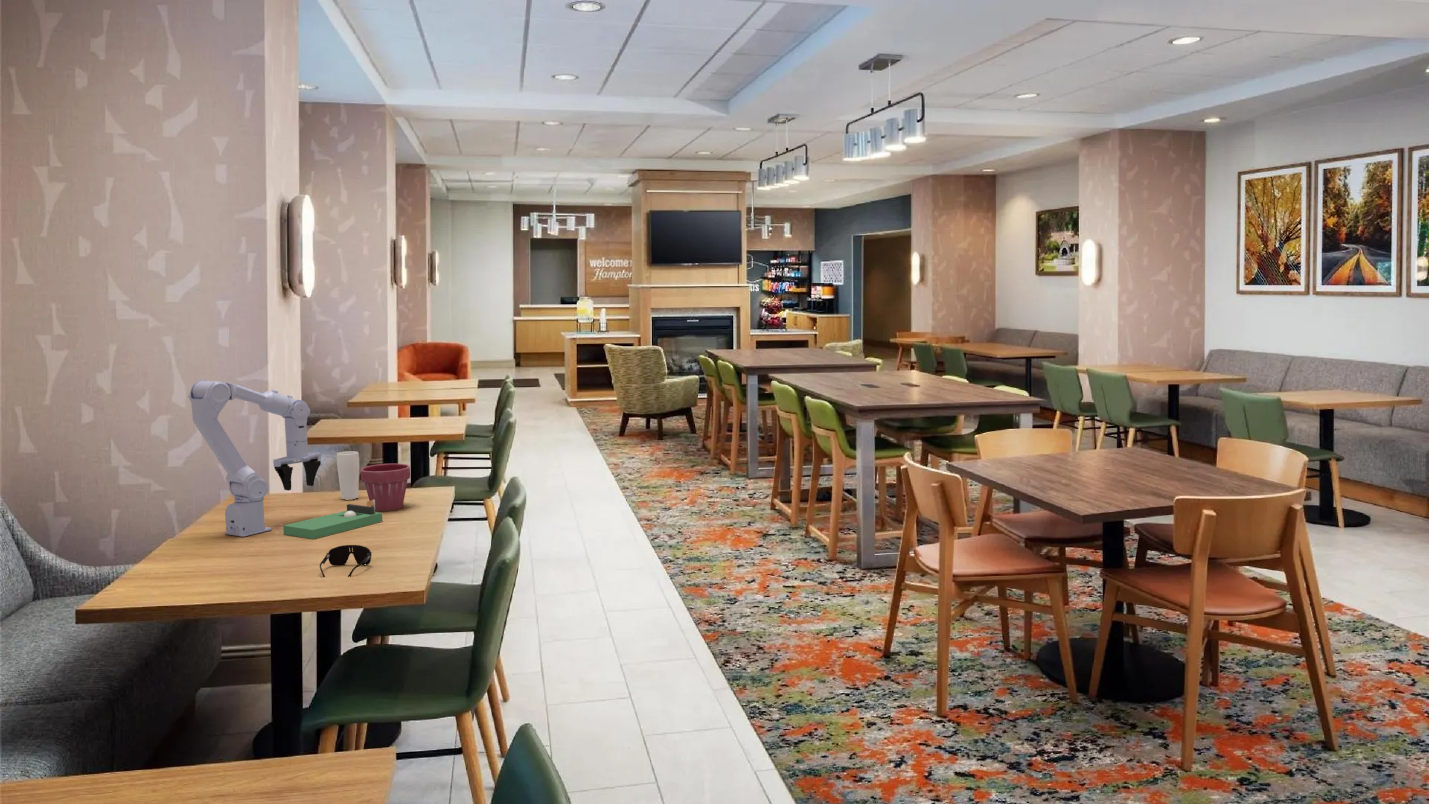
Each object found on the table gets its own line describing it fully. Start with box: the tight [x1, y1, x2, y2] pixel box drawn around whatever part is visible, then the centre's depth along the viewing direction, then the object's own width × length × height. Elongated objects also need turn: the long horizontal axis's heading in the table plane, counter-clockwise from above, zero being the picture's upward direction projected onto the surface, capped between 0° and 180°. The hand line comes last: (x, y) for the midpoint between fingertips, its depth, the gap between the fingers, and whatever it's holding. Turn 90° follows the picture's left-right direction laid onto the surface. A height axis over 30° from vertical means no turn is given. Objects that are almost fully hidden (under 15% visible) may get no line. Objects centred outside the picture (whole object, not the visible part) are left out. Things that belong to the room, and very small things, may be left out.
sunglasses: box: [319, 544, 372, 578], centre depth 245 cm, size 10×12×5 cm
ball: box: [344, 510, 357, 517], centre depth 296 cm, size 4×4×4 cm
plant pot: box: [360, 463, 411, 512], centre depth 315 cm, size 14×14×13 cm
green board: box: [282, 500, 383, 540], centre depth 290 cm, size 24×12×6 cm, turn 151°
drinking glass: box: [336, 450, 360, 500], centre depth 330 cm, size 7×7×15 cm
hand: (299, 487), depth 298 cm, fingers open, 7 cm apart
